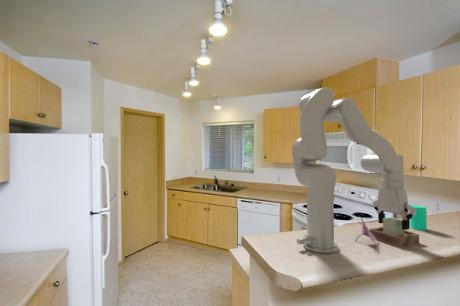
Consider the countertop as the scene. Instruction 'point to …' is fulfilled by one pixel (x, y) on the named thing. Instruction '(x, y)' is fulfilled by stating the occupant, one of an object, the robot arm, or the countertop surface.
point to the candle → (419, 218)
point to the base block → (397, 241)
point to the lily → (366, 232)
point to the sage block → (392, 226)
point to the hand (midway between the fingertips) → (393, 226)
